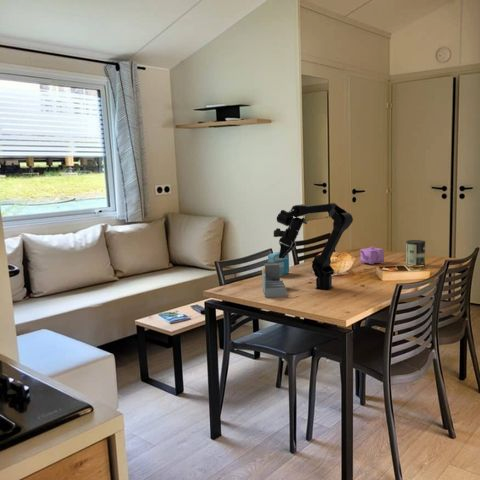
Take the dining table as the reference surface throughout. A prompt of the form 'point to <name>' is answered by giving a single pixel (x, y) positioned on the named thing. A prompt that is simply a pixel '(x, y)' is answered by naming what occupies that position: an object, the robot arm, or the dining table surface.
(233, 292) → the dining table surface
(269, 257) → the data package
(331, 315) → the dining table surface
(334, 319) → the dining table surface
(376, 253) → the purple box
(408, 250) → the coffee can
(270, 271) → the grey rectangular block
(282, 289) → the rack
